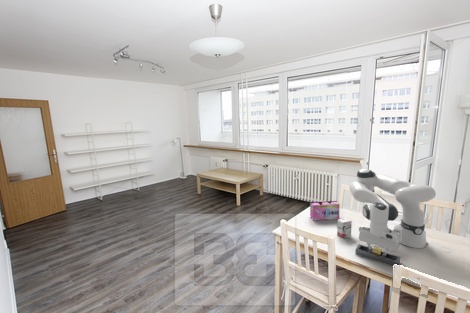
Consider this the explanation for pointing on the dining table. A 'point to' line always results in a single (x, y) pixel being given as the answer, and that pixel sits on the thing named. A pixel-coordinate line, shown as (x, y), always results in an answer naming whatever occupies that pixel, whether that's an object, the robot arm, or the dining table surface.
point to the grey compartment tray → (385, 259)
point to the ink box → (344, 227)
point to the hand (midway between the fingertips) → (377, 251)
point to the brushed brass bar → (377, 251)
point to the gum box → (324, 210)
